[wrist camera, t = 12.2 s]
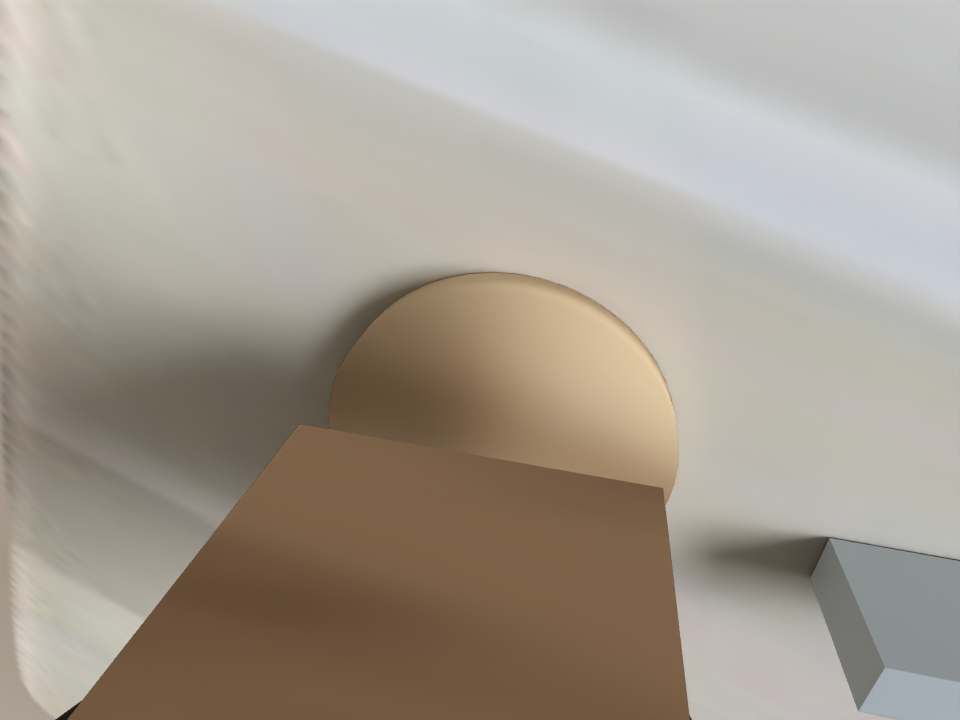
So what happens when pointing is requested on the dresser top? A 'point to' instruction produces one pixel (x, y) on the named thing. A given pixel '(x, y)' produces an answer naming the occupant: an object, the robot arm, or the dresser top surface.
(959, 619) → the channel
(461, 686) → the walnut block
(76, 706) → the robot arm
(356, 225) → the dresser top surface
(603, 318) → the cork coaster
